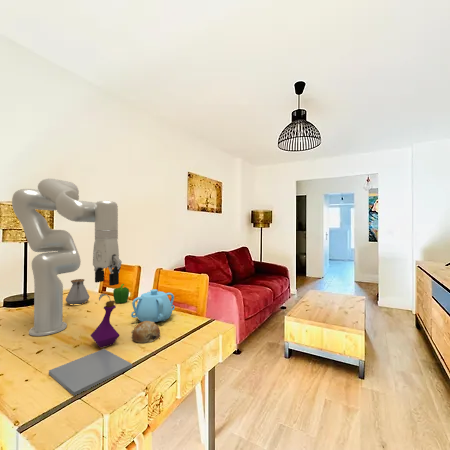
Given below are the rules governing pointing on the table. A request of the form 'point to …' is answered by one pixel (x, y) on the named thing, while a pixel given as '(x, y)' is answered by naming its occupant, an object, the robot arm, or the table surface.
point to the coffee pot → (77, 293)
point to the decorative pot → (153, 306)
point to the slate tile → (89, 371)
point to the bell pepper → (121, 294)
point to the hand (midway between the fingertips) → (106, 283)
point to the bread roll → (145, 332)
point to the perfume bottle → (105, 327)
